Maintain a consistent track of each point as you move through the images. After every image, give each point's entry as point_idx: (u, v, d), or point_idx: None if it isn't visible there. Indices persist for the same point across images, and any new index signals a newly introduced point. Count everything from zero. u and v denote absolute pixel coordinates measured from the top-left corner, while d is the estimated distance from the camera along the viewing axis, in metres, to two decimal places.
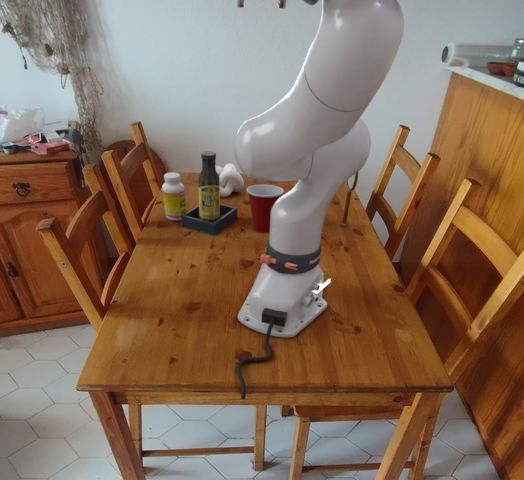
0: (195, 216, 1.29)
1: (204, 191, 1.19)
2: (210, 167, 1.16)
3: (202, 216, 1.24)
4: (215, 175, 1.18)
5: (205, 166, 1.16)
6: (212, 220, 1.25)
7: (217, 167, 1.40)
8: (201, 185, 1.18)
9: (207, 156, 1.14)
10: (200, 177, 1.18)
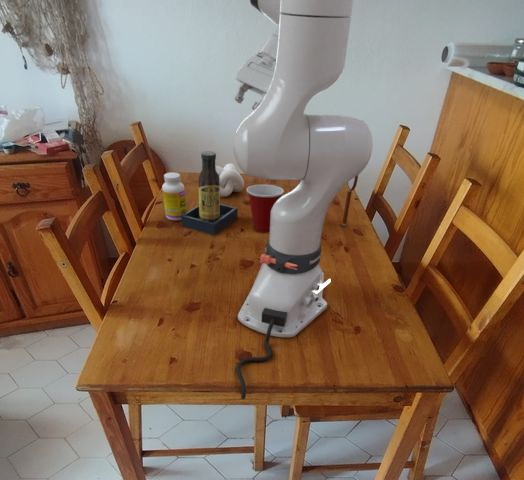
0: (195, 216, 1.29)
1: (204, 191, 1.19)
2: (209, 167, 1.16)
3: (202, 216, 1.24)
4: (215, 175, 1.18)
5: (205, 166, 1.16)
6: (212, 220, 1.25)
7: (217, 167, 1.40)
8: (201, 185, 1.18)
9: (207, 156, 1.14)
10: (200, 177, 1.18)
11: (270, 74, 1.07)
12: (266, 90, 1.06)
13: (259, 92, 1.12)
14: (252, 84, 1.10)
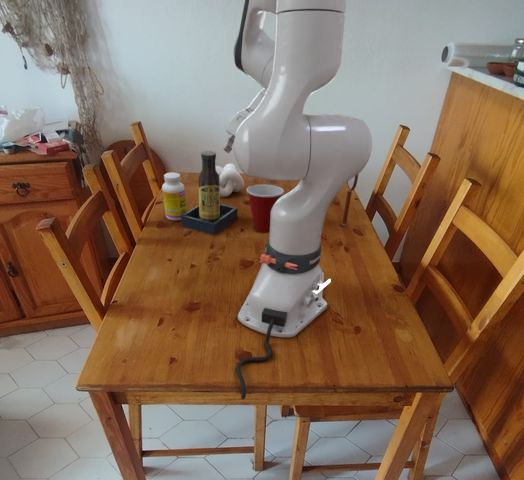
0: (195, 216, 1.29)
1: (204, 191, 1.19)
2: (209, 167, 1.16)
3: (202, 216, 1.24)
4: (215, 175, 1.18)
5: (205, 166, 1.16)
6: (212, 220, 1.25)
7: (217, 167, 1.40)
8: (201, 185, 1.18)
9: (207, 156, 1.14)
10: (200, 177, 1.18)
11: None
12: None
13: None
14: None
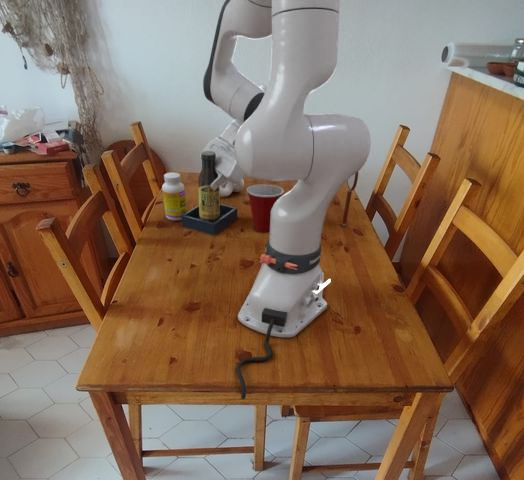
0: (195, 216, 1.29)
1: (204, 191, 1.19)
2: (209, 167, 1.16)
3: (202, 216, 1.24)
4: (215, 175, 1.18)
5: (205, 166, 1.16)
6: (212, 220, 1.25)
7: None
8: (201, 185, 1.18)
9: (207, 156, 1.14)
10: (200, 177, 1.18)
11: (227, 157, 1.15)
12: (222, 172, 1.14)
13: (219, 172, 1.20)
14: None
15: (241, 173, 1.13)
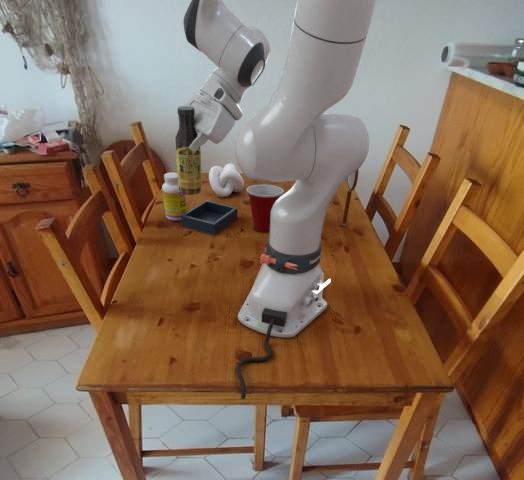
0: (195, 216, 1.29)
1: (182, 154, 1.02)
2: (187, 124, 0.99)
3: (181, 185, 1.07)
4: (194, 135, 1.01)
5: (182, 123, 0.99)
6: (193, 190, 1.08)
7: (217, 167, 1.40)
8: (178, 147, 1.02)
9: (184, 110, 0.97)
10: (177, 137, 1.01)
11: (208, 113, 0.98)
12: (202, 130, 0.97)
13: (200, 132, 1.03)
14: None
15: (224, 130, 0.96)
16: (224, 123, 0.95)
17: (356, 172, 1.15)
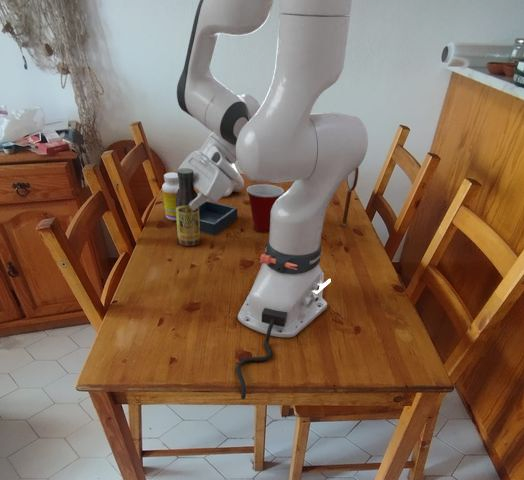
0: None
1: (182, 212, 1.09)
2: (187, 185, 1.06)
3: (180, 237, 1.15)
4: (193, 194, 1.08)
5: (182, 184, 1.06)
6: (191, 242, 1.15)
7: None
8: (178, 205, 1.09)
9: (183, 174, 1.04)
10: (177, 196, 1.08)
11: (206, 173, 1.05)
12: (200, 190, 1.03)
13: None
14: None
15: (221, 191, 1.03)
16: (220, 184, 1.02)
17: (356, 172, 1.15)
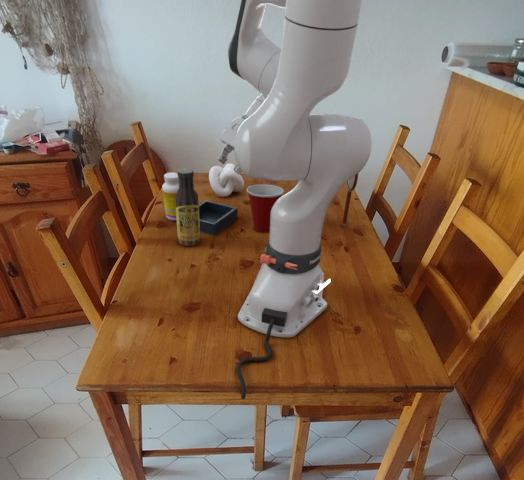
0: None
1: (182, 212, 1.09)
2: (187, 185, 1.06)
3: (180, 237, 1.15)
4: (193, 194, 1.08)
5: (182, 184, 1.06)
6: (191, 242, 1.15)
7: (217, 167, 1.40)
8: (178, 205, 1.09)
9: (183, 174, 1.04)
10: (177, 196, 1.08)
11: None
12: None
13: None
14: None
15: None
16: None
17: None
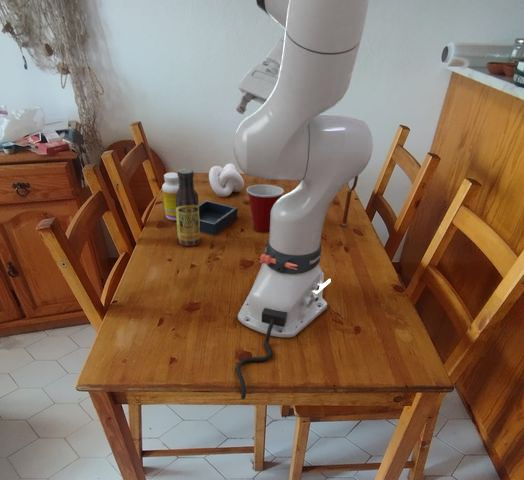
0: None
1: (182, 212, 1.09)
2: (187, 185, 1.06)
3: (180, 237, 1.15)
4: (193, 194, 1.08)
5: (182, 184, 1.06)
6: (191, 242, 1.15)
7: (217, 167, 1.40)
8: (178, 205, 1.09)
9: (183, 174, 1.04)
10: (177, 196, 1.08)
11: (275, 81, 0.97)
12: None
13: (263, 102, 1.02)
14: (255, 93, 1.00)
15: None
16: None
17: None
